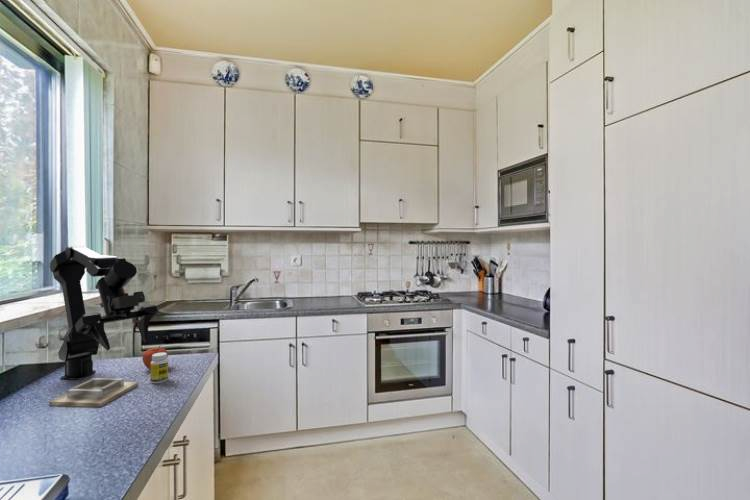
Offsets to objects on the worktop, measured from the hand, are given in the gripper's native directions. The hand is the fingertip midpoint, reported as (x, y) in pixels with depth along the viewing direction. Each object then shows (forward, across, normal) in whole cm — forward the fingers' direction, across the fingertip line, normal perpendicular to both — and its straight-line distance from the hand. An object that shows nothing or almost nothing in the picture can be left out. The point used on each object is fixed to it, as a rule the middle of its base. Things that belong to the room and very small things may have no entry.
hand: (127, 345), depth 98 cm
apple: (+3, +16, +23) cm, 28 cm away
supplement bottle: (+10, +11, +13) cm, 20 cm away
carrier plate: (+7, -4, +16) cm, 18 cm away
